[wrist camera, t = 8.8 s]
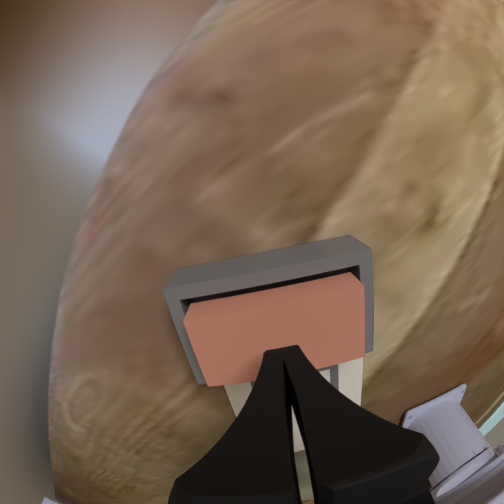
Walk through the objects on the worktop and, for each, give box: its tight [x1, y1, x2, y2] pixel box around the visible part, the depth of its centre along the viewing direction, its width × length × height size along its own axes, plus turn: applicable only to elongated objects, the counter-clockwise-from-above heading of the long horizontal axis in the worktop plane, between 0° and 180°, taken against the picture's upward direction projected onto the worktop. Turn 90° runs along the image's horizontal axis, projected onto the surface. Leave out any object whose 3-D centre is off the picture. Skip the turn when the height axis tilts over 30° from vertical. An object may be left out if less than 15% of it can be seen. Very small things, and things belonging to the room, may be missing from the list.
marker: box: [292, 408, 314, 501], centre depth 14 cm, size 4×4×8 cm
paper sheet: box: [224, 357, 363, 417], centre depth 18 cm, size 7×10×1 cm
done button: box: [183, 272, 365, 387], centre depth 13 cm, size 4×8×2 cm, turn 102°
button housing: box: [162, 235, 374, 384], centre depth 15 cm, size 6×10×3 cm, turn 101°
